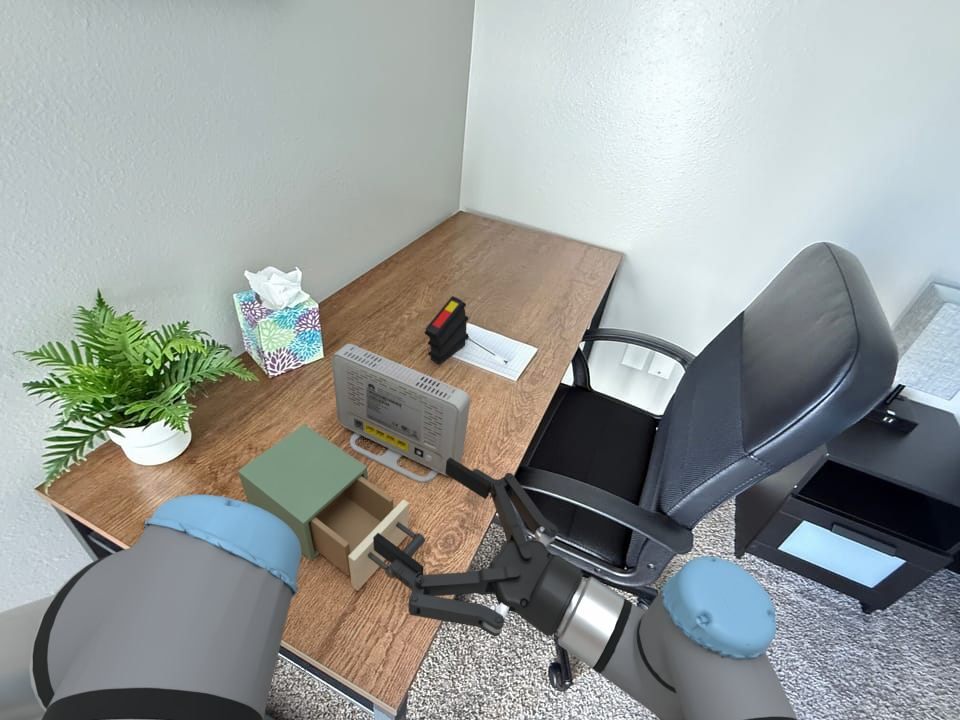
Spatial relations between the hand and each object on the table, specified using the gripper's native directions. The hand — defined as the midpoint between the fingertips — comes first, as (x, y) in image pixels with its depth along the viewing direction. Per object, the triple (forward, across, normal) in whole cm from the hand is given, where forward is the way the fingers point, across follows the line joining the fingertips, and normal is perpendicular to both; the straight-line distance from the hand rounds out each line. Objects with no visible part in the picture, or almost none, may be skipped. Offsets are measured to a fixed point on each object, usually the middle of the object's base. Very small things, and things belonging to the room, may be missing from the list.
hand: (414, 500), depth 57 cm
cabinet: (+22, 0, -22) cm, 31 cm away
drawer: (+10, 0, -21) cm, 23 cm away
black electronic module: (+30, +49, -22) cm, 62 cm away
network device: (+19, +18, -22) cm, 34 cm away
